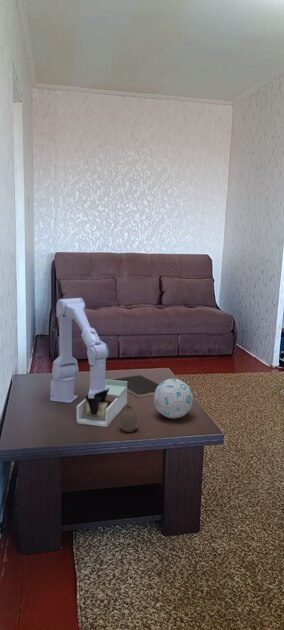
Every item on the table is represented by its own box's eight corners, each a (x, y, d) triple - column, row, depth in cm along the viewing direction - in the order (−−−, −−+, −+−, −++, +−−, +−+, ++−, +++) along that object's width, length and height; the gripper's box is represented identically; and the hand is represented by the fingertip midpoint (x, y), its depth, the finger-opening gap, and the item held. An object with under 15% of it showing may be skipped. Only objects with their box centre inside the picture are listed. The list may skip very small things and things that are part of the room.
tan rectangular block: (86, 417, 176) (86, 404, 175) (90, 413, 180) (90, 401, 179) (103, 419, 174) (104, 406, 173) (107, 415, 178) (107, 403, 177)
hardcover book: (137, 399, 201) (138, 393, 201) (112, 384, 220) (112, 379, 220) (168, 393, 210) (168, 388, 209) (141, 379, 229) (141, 374, 228)
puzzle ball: (158, 425, 172) (159, 386, 170) (149, 410, 187) (150, 374, 184) (197, 423, 175) (199, 385, 173) (185, 408, 190) (187, 373, 187)
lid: (88, 394, 184) (88, 387, 184) (98, 384, 196) (98, 378, 195) (118, 397, 181) (118, 390, 181) (127, 387, 193) (127, 381, 192)
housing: (76, 423, 173) (76, 406, 172) (99, 400, 197) (99, 385, 196) (107, 427, 170) (107, 410, 169) (126, 403, 194) (127, 388, 193)
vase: (131, 435, 163) (131, 411, 162) (115, 430, 167) (115, 407, 165) (141, 428, 169) (142, 405, 168) (125, 424, 173) (126, 401, 171)
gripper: (101, 382, 166) (101, 418, 169) (113, 371, 180) (113, 404, 182) (82, 380, 168) (82, 416, 170) (96, 369, 182) (96, 402, 184)
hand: (97, 410), depth 176 cm, fingers open, 7 cm apart
